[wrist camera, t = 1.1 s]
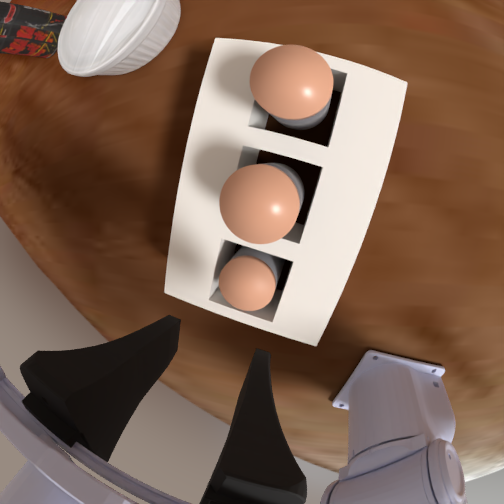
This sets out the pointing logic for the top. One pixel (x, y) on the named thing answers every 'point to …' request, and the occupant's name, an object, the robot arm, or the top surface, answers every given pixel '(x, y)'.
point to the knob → (293, 86)
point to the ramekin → (115, 35)
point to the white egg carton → (300, 236)
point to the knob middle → (261, 202)
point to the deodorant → (29, 30)
